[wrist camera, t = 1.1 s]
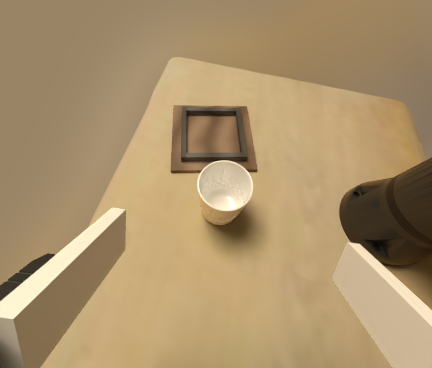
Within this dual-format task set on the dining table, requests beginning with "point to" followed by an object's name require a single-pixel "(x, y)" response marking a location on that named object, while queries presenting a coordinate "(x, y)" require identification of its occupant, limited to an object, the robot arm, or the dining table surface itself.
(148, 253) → the dining table surface
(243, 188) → the white cup
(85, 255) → the robot arm
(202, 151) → the dock board
